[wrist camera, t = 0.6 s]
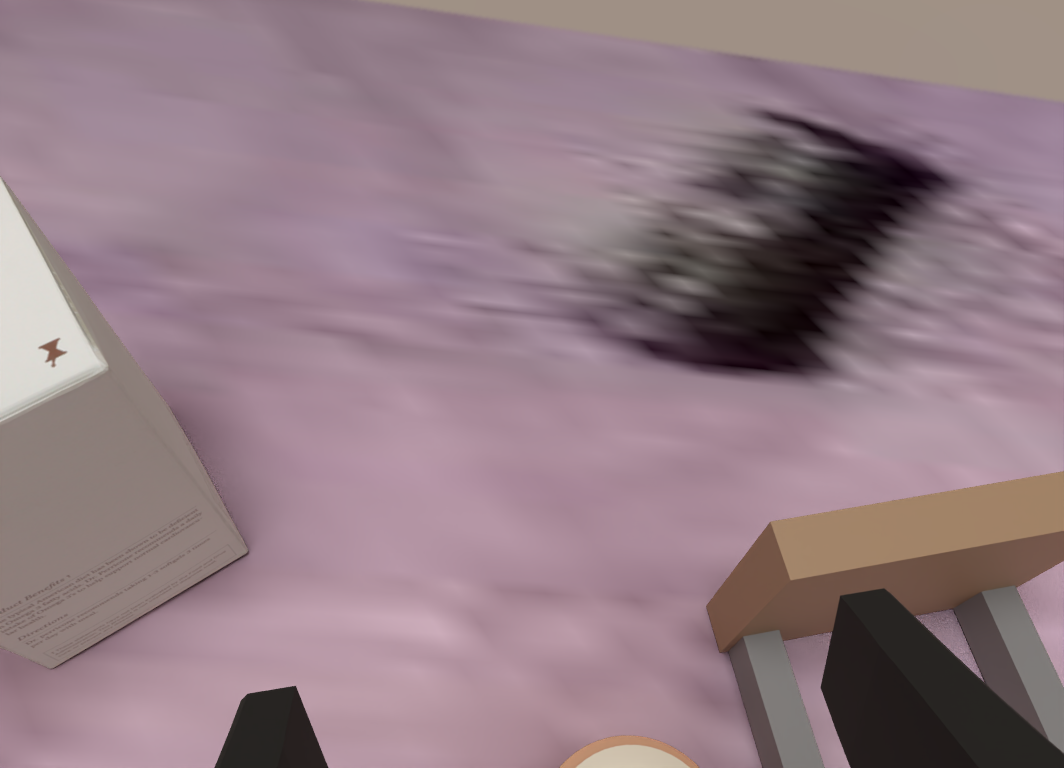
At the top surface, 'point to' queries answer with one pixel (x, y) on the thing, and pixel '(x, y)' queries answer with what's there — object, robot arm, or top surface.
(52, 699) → the top surface
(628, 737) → the terracotta jar
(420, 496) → the top surface
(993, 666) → the pusher lane
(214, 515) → the supplement box
